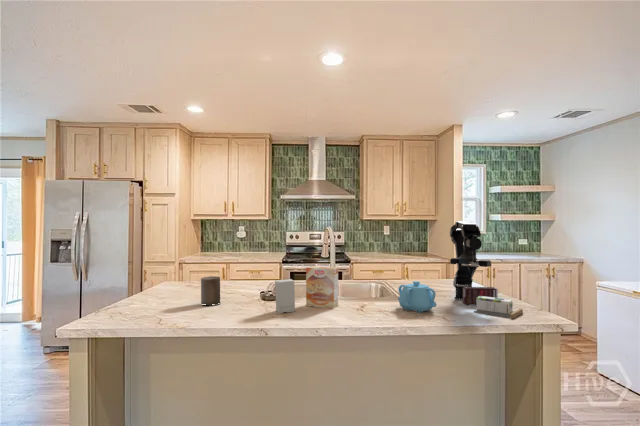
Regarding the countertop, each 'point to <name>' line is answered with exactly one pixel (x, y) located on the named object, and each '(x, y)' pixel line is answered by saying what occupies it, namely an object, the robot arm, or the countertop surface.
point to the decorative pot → (416, 297)
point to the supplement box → (477, 294)
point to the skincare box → (285, 295)
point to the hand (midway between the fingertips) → (470, 279)
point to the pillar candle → (210, 290)
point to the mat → (511, 315)
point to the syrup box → (494, 304)
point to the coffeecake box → (322, 286)
